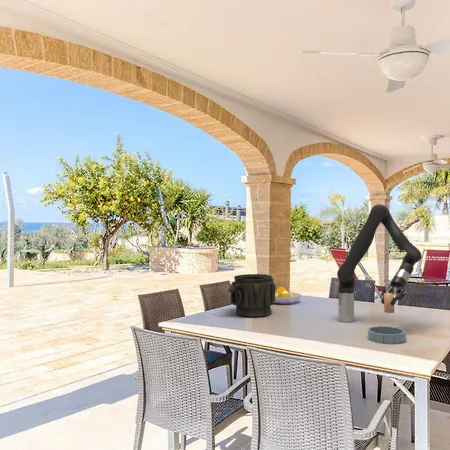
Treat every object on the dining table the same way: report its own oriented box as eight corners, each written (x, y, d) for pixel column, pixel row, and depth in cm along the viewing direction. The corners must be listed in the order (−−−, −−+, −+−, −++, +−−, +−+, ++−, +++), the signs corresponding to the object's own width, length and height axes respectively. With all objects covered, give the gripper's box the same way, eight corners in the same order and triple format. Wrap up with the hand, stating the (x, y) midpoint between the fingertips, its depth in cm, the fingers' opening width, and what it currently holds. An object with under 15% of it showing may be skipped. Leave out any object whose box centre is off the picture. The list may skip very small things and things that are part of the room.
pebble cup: (384, 312, 243) (384, 293, 243) (383, 310, 248) (383, 291, 248) (395, 313, 242) (394, 293, 242) (393, 311, 247) (393, 291, 247)
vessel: (225, 318, 288) (224, 279, 288) (236, 308, 319) (235, 273, 319) (273, 320, 281) (272, 279, 281) (279, 309, 312) (278, 273, 312)
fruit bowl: (306, 301, 344) (306, 286, 344) (292, 307, 321) (292, 291, 321) (273, 298, 359) (273, 283, 359) (257, 303, 336) (257, 288, 336)
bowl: (369, 343, 226) (369, 334, 226) (366, 334, 244) (366, 325, 243) (408, 344, 222) (408, 335, 222) (402, 335, 240) (401, 326, 240)
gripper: (386, 274, 255) (372, 297, 248) (409, 276, 243) (395, 301, 236) (392, 282, 258) (379, 306, 251) (415, 285, 246) (401, 310, 239)
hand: (387, 303), depth 244 cm, fingers closed on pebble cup, 5 cm apart
